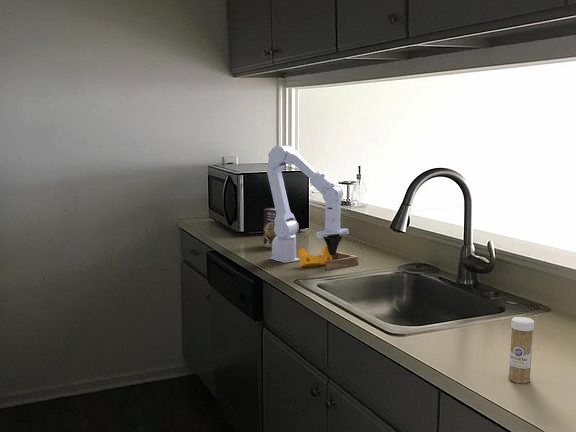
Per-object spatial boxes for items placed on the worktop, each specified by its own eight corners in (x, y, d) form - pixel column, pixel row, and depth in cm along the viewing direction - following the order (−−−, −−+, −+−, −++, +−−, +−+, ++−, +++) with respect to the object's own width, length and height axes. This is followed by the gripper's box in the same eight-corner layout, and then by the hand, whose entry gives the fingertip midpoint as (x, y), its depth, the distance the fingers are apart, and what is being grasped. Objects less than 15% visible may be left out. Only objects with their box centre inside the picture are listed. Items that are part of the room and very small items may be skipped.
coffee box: (263, 246, 287) (262, 209, 285) (271, 244, 293) (271, 207, 290) (280, 249, 282) (280, 210, 280) (289, 246, 288) (289, 209, 285)
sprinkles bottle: (507, 382, 143) (511, 321, 141) (508, 374, 147) (511, 315, 145) (530, 385, 141) (534, 323, 139) (531, 377, 145) (534, 317, 143)
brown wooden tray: (307, 264, 253) (307, 256, 253) (338, 259, 263) (338, 251, 262) (327, 270, 244) (327, 262, 244) (358, 264, 254) (358, 256, 253)
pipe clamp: (305, 263, 246) (301, 247, 248) (300, 267, 249) (297, 250, 251) (334, 261, 250) (331, 244, 252) (330, 264, 254) (327, 248, 256)
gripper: (325, 222, 243) (324, 259, 245) (354, 218, 251) (353, 254, 253) (312, 219, 248) (312, 255, 250) (341, 216, 257) (341, 251, 259)
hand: (332, 254), depth 252 cm, fingers closed
